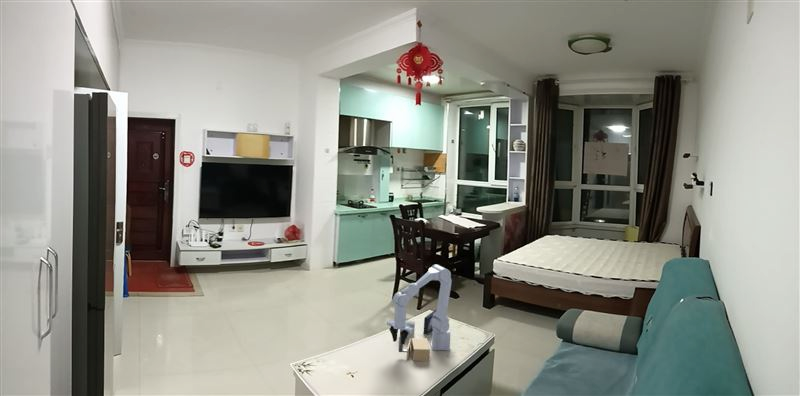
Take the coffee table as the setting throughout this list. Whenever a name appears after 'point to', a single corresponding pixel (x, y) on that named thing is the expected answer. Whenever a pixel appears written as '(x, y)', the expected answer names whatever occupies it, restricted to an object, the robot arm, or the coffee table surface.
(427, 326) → the vhs cassette tape
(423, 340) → the carton
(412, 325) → the medicine box
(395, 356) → the coffee table surface
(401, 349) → the wooden box lid
